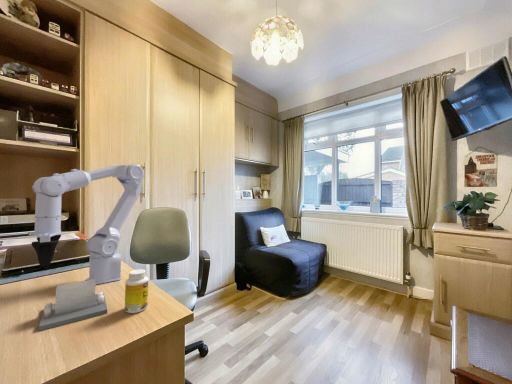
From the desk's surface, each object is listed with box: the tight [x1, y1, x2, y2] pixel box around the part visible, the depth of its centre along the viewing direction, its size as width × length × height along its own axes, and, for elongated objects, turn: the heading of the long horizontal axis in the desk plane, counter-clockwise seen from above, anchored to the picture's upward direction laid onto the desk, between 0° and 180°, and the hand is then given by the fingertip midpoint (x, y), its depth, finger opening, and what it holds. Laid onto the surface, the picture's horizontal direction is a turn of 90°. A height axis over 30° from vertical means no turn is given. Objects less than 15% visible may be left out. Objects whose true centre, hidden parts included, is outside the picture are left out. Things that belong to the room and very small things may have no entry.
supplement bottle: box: [124, 268, 149, 314], centre depth 61 cm, size 6×6×10 cm
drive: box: [54, 279, 96, 315], centre depth 59 cm, size 8×4×6 cm, turn 129°
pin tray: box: [38, 291, 108, 332], centre depth 59 cm, size 13×12×3 cm
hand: (46, 262), depth 67 cm, fingers open, 7 cm apart
